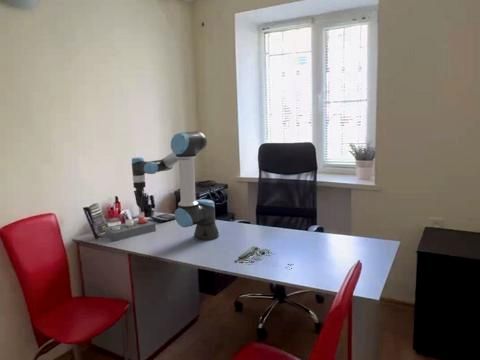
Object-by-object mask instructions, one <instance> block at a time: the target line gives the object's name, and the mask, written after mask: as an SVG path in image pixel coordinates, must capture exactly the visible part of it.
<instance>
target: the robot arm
mask: <svg viewBox="0 0 480 360" xmlns="http://www.w3.org/2000/svg"><path fill="white" fill-rule="evenodd" d="M207 144H208V140H207V137H206V135H205V134H204V133H203V132H201V131H198V130H197V131H185V132H183V131H182V132H177V133H176V134H174V135H173V137H172V138H171V141H170V149H171V151H172V152H171V153H169V154H168V155H166V156H165V157H163V158H161V159H157V160H151V161H146V160H144V157H142V156H141V157H140V156H139V157H132V158H131V169H132V170H131V171H132V181H133V188H134V189H135V190H134V191H133V193H134V198H135V202H136V203H135V204H136V206H137V207H138V213H139V215H138V216H139V217H145V208H144V207H146V205H147V204H146V202H147V201H146V200H147V199H146V198H147V192H145V188H146V175H145V174H147V175H154V174H156V173H160V172H167V171H170V170H172V169H173V167H174V166H176V165H177V164H178V172H179V174H178V175H179V191H180V196H179V197H180V201H179V202H178V203H177V206H178V208H177V209H175V211H174V220H175V221H176V223H177V224H178V225H179V226H180V227H182V228H189V227H192V226H195V229H194V233H193V238H194V239H195V240H197V241H212V240H217V238H219V237H220V236H219V235H220V234H219V233H220V232H219V230H218V227H217V224H216V207H215V201H213V200H211V199H197V196H196V181H195V180H196V175H195V158H196V157H197V154H199V153H201V152H202V151H203V150H204V149H206V147H207ZM139 217H138V218H139Z"/></svg>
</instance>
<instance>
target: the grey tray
mask: <svg viewBox="0 0 480 360" xmlns="http://www.w3.org/2000/svg"><path fill="white" fill-rule="evenodd" d="M133 223H134V226H132V227H128V228H127V227H126V225H125V222H124V223H120V224H115V225H111V226H107V227H103V228H104V229H103V232H104V231H105V236H104V237H106V238H108V239H109V240H111V241H113V242H117V241H121V240H125V239H129V238H134V237H137V236H141V235H145V234H148V233H149V234H150V233H152V232H156V231H157V230H156V223H154V222H152V221H150V220H148V219H146V223H145V224H141V225H140V224H139V223H138V219H136V220H133ZM113 226H120V230H115V231H113V230H112V227H113Z"/></svg>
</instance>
